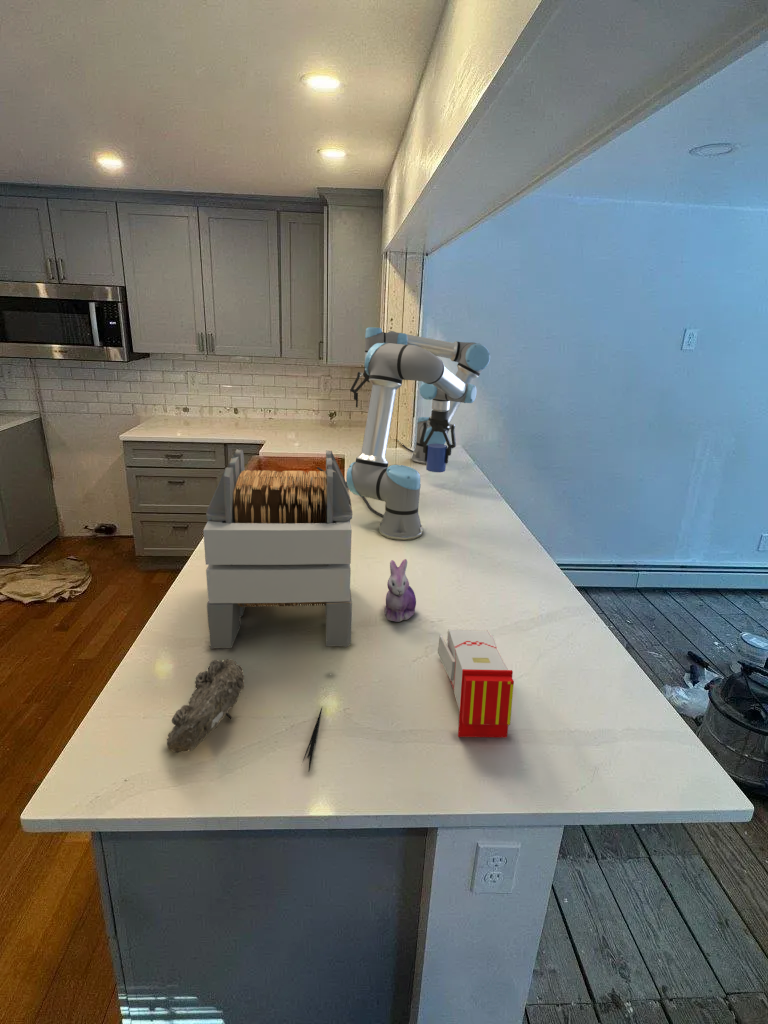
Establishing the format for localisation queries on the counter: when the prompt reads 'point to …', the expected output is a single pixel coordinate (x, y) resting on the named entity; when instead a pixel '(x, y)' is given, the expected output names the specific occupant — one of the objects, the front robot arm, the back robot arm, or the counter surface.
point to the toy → (478, 682)
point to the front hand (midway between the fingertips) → (436, 461)
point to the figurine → (399, 594)
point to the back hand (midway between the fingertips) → (370, 407)
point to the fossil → (206, 705)
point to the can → (436, 457)
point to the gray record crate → (278, 547)
